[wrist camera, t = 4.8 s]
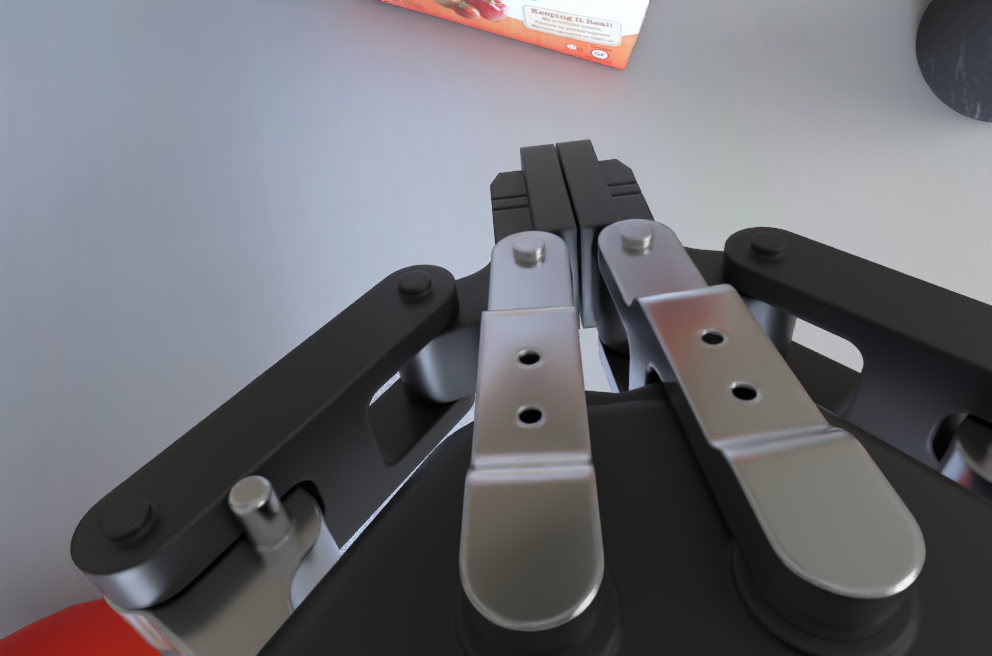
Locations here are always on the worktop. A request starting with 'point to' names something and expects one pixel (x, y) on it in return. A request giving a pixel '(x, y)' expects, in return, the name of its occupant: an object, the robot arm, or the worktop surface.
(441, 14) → the cracker box
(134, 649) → the tomato
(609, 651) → the robot arm
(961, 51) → the travel mug
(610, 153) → the worktop surface
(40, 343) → the worktop surface
